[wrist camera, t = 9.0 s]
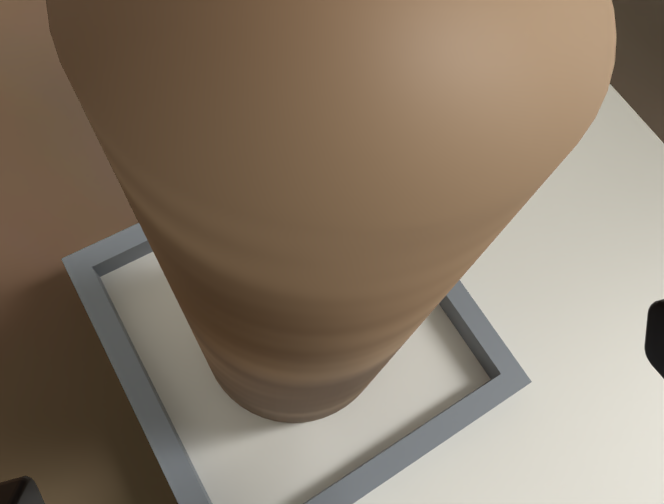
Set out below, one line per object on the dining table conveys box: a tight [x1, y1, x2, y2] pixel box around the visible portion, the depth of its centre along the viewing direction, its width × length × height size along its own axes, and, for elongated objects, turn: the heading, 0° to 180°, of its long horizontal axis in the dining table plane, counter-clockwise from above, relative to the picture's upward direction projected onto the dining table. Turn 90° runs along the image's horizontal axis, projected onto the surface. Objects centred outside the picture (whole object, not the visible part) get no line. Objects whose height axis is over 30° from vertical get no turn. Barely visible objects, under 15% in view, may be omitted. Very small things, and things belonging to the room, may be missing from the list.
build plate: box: [62, 84, 664, 504], centre depth 16 cm, size 18×19×2 cm
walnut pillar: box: [46, 0, 617, 423], centre depth 11 cm, size 5×5×12 cm
